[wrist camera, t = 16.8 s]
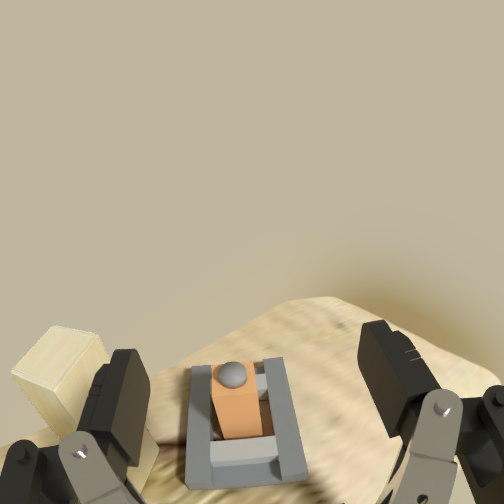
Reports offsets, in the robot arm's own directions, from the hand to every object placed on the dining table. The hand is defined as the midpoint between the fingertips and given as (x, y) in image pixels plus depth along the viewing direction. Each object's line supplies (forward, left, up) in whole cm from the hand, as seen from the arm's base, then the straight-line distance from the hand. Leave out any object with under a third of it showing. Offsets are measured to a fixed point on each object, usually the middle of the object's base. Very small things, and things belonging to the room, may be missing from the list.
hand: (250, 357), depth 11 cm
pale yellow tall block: (-3, +21, -30) cm, 37 cm away
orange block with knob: (+12, +13, -30) cm, 35 cm away
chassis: (+12, +13, -30) cm, 35 cm away
